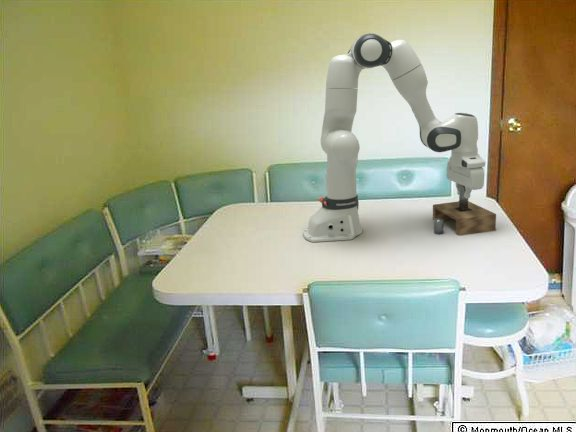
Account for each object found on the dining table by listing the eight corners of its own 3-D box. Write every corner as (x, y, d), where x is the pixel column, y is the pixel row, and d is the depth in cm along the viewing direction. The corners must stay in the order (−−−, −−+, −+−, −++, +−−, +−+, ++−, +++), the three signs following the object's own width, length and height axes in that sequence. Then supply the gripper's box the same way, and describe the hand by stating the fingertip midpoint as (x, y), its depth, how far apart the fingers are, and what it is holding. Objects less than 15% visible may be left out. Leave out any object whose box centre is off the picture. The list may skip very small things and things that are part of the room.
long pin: (461, 216, 178) (462, 179, 174) (457, 214, 181) (457, 177, 177) (469, 215, 178) (470, 178, 174) (465, 213, 181) (466, 176, 177)
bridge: (458, 235, 170) (458, 219, 168) (432, 219, 189) (432, 204, 187) (495, 230, 172) (496, 214, 170) (466, 214, 191) (466, 200, 189)
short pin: (436, 235, 172) (436, 221, 171) (432, 232, 175) (432, 219, 174) (444, 233, 173) (445, 220, 171) (440, 231, 176) (440, 217, 174)
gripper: (442, 155, 183) (442, 191, 187) (470, 164, 163) (470, 204, 167) (457, 153, 184) (457, 188, 188) (488, 162, 164) (487, 201, 168)
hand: (463, 196), depth 177 cm, fingers closed on long pin, 3 cm apart
